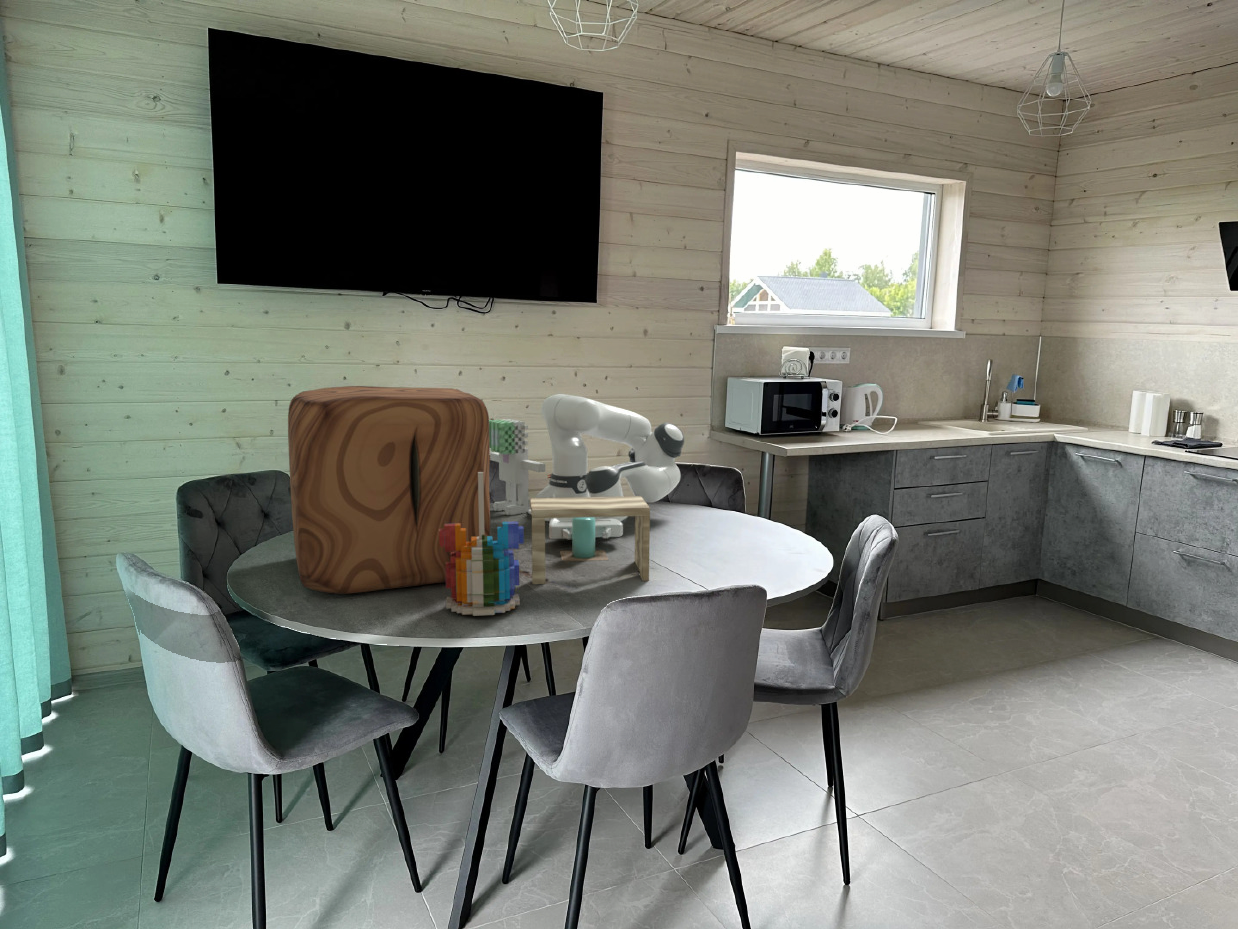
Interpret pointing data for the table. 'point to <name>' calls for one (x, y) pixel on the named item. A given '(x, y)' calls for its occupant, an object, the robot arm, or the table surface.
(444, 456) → the brown wooden cube stool
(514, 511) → the toy
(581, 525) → the mint green cylinder
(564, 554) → the tray
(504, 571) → the toy
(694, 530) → the table surface
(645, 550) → the wooden step stool
